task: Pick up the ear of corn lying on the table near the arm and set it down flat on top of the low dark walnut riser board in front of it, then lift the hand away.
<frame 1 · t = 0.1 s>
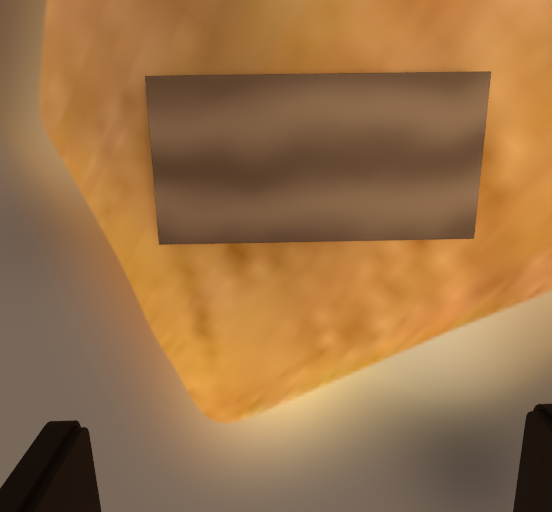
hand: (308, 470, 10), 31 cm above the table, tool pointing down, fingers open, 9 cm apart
riser: (313, 157, 39), on the table
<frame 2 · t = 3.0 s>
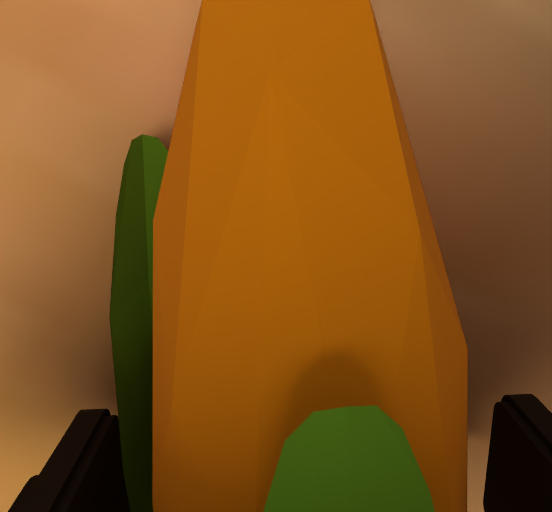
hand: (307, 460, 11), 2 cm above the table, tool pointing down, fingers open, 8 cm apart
corn: (280, 398, 13), on the table, touching gripper
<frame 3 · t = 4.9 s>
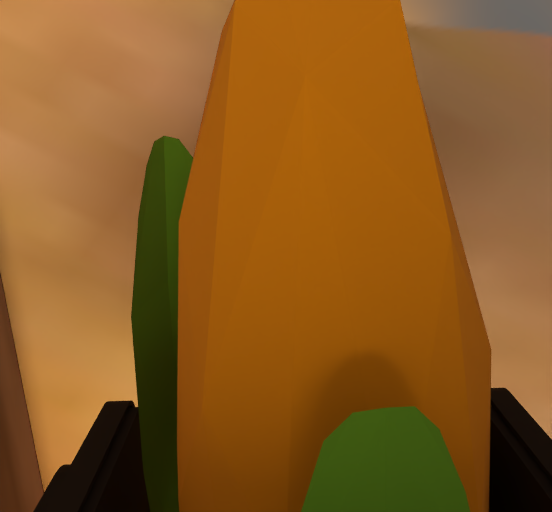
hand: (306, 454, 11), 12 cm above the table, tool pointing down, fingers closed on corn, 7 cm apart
corn: (295, 398, 13), point 10 cm above the table, touching gripper
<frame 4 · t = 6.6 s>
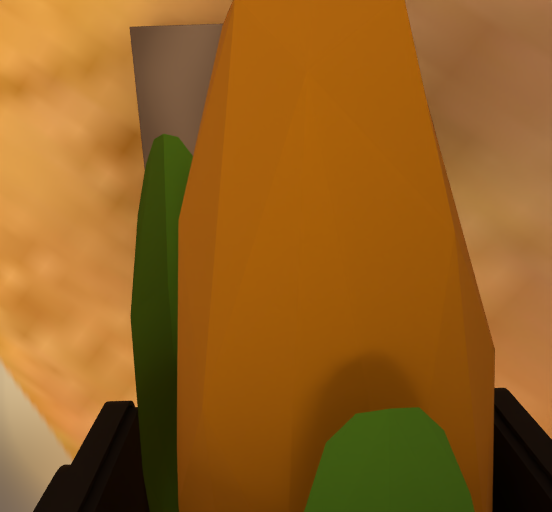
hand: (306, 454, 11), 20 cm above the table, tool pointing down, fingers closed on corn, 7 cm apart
riser: (265, 244, 30), on the table
corn: (296, 398, 13), point 18 cm above the table, touching gripper
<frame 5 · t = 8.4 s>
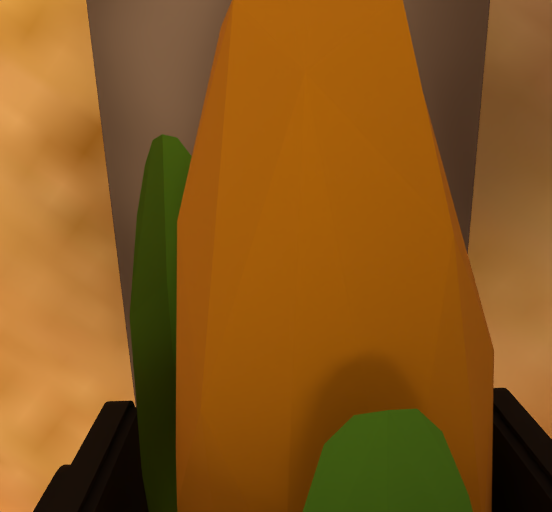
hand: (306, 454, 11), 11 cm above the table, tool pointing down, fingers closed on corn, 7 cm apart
riser: (289, 287, 21), on the table
corn: (296, 399, 13), point 9 cm above the table, touching gripper
when the fingers open (7 cm above the table, at t = 9.7 s): corn drops 1 cm, resting on riser.
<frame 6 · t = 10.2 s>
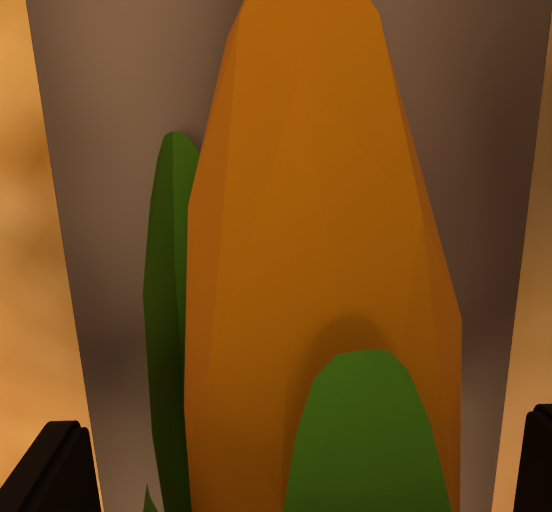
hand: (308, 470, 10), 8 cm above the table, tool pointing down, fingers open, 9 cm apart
riser: (290, 323, 18), on the table
corn: (290, 374, 14), point 4 cm above the table, touching riser
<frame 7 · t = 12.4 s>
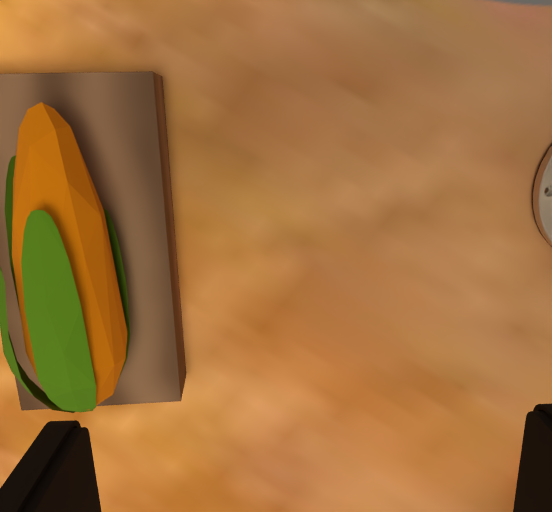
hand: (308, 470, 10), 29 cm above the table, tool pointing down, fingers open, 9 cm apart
riser: (97, 241, 38), on the table
corn: (76, 253, 34), point 4 cm above the table, touching riser
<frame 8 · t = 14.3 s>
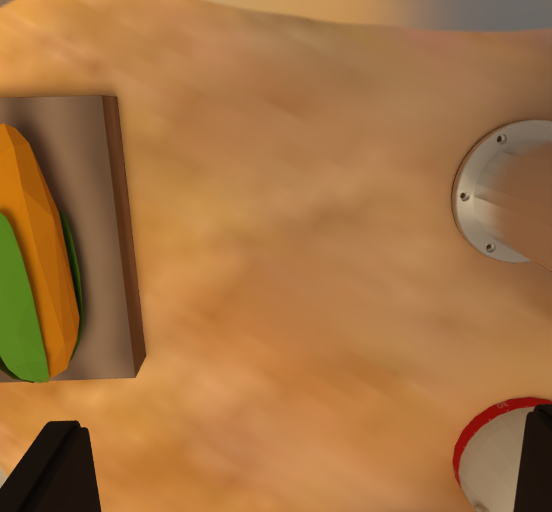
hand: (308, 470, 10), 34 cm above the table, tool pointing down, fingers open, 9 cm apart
riser: (65, 238, 44), on the table
kitchen timer: (516, 453, 52), on the table
corn: (41, 248, 40), point 4 cm above the table, touching riser
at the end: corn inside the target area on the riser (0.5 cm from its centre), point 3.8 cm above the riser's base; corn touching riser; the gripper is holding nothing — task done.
